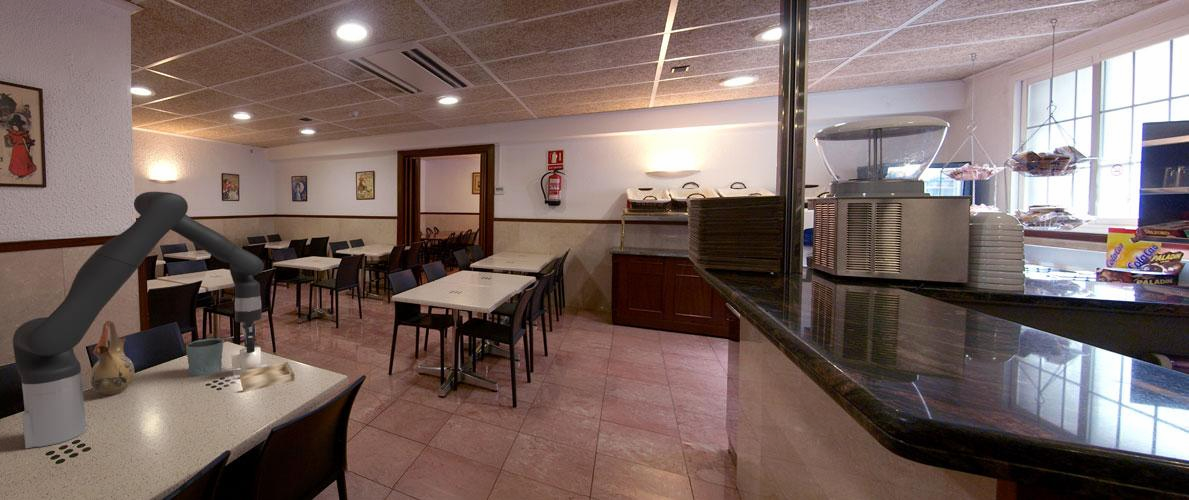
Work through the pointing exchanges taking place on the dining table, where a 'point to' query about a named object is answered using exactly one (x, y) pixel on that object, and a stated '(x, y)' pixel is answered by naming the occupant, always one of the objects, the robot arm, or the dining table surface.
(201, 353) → the teal plant pot
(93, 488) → the dining table surface
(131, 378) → the ceramic vessel
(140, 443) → the dining table surface
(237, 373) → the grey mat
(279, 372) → the beech holder
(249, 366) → the cream jug
